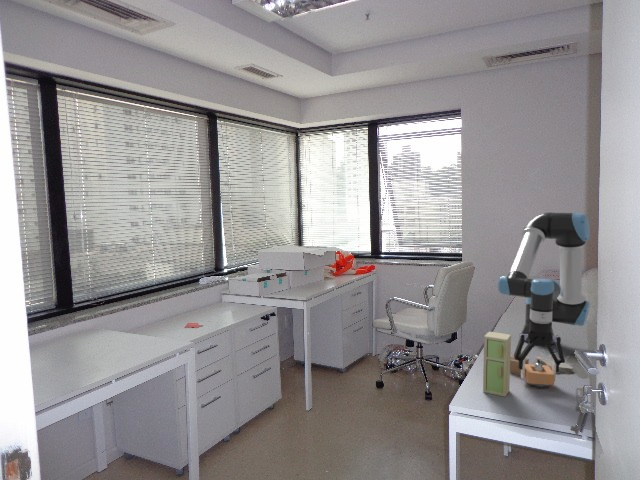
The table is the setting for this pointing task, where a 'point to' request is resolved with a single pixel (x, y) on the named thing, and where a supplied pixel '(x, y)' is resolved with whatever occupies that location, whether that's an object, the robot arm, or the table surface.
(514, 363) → the stand
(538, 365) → the hub
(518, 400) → the table surface
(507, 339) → the toy refrigerator
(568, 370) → the stone
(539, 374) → the slotted orange block
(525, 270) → the robot arm
